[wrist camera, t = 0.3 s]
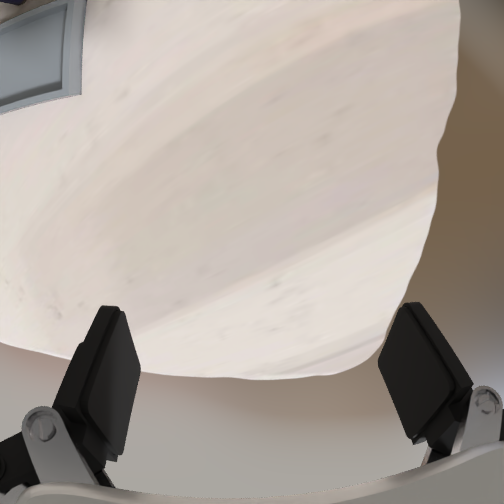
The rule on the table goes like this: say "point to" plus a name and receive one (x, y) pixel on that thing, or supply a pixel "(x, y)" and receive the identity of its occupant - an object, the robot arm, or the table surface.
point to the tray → (41, 55)
